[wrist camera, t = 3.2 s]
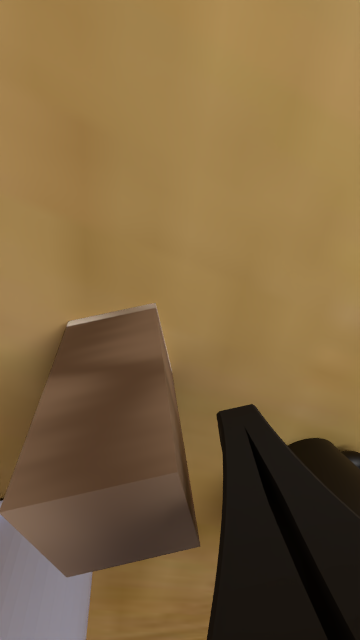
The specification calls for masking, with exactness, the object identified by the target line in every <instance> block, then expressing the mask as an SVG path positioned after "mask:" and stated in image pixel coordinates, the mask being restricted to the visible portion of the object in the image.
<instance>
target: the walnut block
mask: <svg viewBox="0 0 360 640" xmlns="http://www.w3.org/2000/svg"><path fill="white" fill-rule="evenodd" d="M0 514H1V515H2V516H3V517H4V518H5V519H6V520H7V521H8V522H9V523H10V524H11V525H12V526H13V527H14V528H15V529H16V530H17V531H18V532H19V533H20V534H22V535H23V536H24V537H25V538H26V539H27V540H28V541H29V542H30V543H31V544H32V545H33V546H34V547H35V548H36V549H37V550H38V551H39V552H40V553H41V554H42V555H44V556H45V557H46V558H47V559H48V560H49V561H50V562H51V563H52V564H53V565H54V566H55V567H56V568H57V569H58V570H59V571H60V572H61V573H62V574H63V575H64V576H66V577H72V576H76V575H80V574H84V573H89V572H93V571H97V570H102V569H106V568H110V567H114V566H119V565H123V564H127V563H131V562H136V561H140V560H144V559H148V558H153V557H157V556H161V555H166V554H170V553H174V552H178V551H183V550H187V549H191V548H195V547H200V541H199V535H198V529H197V523H196V517H195V511H194V504H193V498H192V492H191V486H190V480H189V474H188V468H187V461H186V455H185V449H184V443H183V437H182V431H181V425H180V419H179V412H178V406H177V400H176V394H175V388H174V382H173V376H172V369H171V365H170V361H169V357H168V353H167V348H166V344H165V340H164V336H163V332H162V328H161V324H160V320H159V315H158V311H157V307H156V303H153V304H148V305H143V306H139V307H134V308H129V309H124V310H120V311H115V312H110V313H106V314H101V315H96V316H91V317H87V318H82V319H77V320H73V321H68V324H67V327H66V330H65V332H64V335H63V338H62V341H61V343H60V346H59V349H58V352H57V354H56V357H55V360H54V363H53V365H52V368H51V371H50V373H49V376H48V379H47V382H46V384H45V387H44V390H43V393H42V395H41V398H40V401H39V404H38V406H37V409H36V412H35V415H34V417H33V420H32V423H31V426H30V428H29V431H28V434H27V436H26V439H25V442H24V445H23V447H22V450H21V453H20V456H19V458H18V461H17V464H16V467H15V469H14V472H13V475H12V478H11V480H10V483H9V486H8V488H7V491H6V494H5V497H4V499H3V502H2V505H1V508H0Z"/></svg>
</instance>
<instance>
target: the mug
mask: <svg viewBox="0 0 360 640" xmlns="http://www.w3.org/2000/svg"><path fill="white" fill-rule="evenodd" d="M288 447H289V448H290V449H291V451H292V452H293V453H294V454H295V455H296V456H297V457H298V458H299V459H300V460H301V461H302V462H303V464H304V465H305V466H306V467H307V468H308V469H309V470H310V471H311V472H312V473H313V474H314V475H315V476H316V477H317V478H318V479H319V480H320V481H321V482H322V483H323V484H324V485H325V486H326V487H327V488H328V489H330V490H331V491H332V492H333V493H334V494H335V495H336V496H337V497H338V498H339V499H340V500H341V501H342V502H344V503H345V504H346V505H347V506H348V507H349V508H350V509H351V510H352V511H354V512H355V513H356V514H357V515H358V516H359V517H360V453H358V452H355V451H341V452H340V451H339V450H338V449H337V448H336V447H335V446H334V445H333V444H332V443H331V442H329V441H327V440H325V439H319V438H313V439H306V440H302V441H299V442H296V443H293V444H291V445H289V446H288Z"/></svg>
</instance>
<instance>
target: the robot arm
mask: <svg viewBox="0 0 360 640" xmlns="http://www.w3.org/2000/svg"><path fill="white" fill-rule="evenodd" d="M217 421H218V428H219V435H220V442H221V447H222V452H223V505H222V521H221V534H220V545H219V554H218V564H217V573H216V581H215V588H214V595H213V602H212V609H211V616H210V622H209V629H208V635H207V640H360V517H359V516H358V515H357V514H356V513H355V512H354V511H352V510H351V509H350V508H349V507H348V506H347V505H346V504H345V503H344V502H342V501H341V500H340V499H339V498H338V497H337V496H336V495H335V494H334V493H333V492H332V491H331V490H330V489H328V488H327V487H326V486H325V485H324V484H323V483H322V482H321V481H320V480H319V479H318V478H317V477H316V476H315V475H314V474H313V473H312V472H311V471H310V470H309V469H308V468H307V467H306V466H305V465H304V464H303V462H302V461H301V460H300V459H299V458H298V457H297V456H296V455H295V454H294V453H293V452H292V451H291V449H290V448H289V447H288V446H287V445H286V444H285V443H284V442H283V441H282V439H281V438H280V437H279V436H278V435H277V433H276V432H275V431H274V430H273V429H272V427H271V426H270V425H269V424H268V422H267V421H266V420H265V419H264V417H263V416H262V415H261V413H260V412H259V411H258V409H257V408H256V406H255V405H253V404H250V405H246V406H241V407H237V408H232V409H228V410H223V411H219V412H218V413H217ZM2 502H3V500H2V501H0V508H1V505H2ZM91 582H92V572H89V573H84V574H80V575H76V576H72V577H66V576H64V575H63V574H62V573H61V572H60V571H59V570H58V569H57V568H56V567H55V566H54V565H53V564H52V563H51V562H50V561H49V560H48V559H47V558H46V557H45V556H44V555H42V554H41V553H40V552H39V551H38V550H37V549H36V548H35V547H34V546H33V545H32V544H31V543H30V542H29V541H28V540H27V539H26V538H25V537H24V536H23V535H22V534H20V533H19V532H18V531H17V530H16V529H15V528H14V527H13V526H12V525H11V524H10V523H9V522H8V521H7V520H6V519H5V518H4V517H3V516H2V515H1V514H0V640H86V634H87V624H88V613H89V603H90V593H91Z"/></svg>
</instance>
